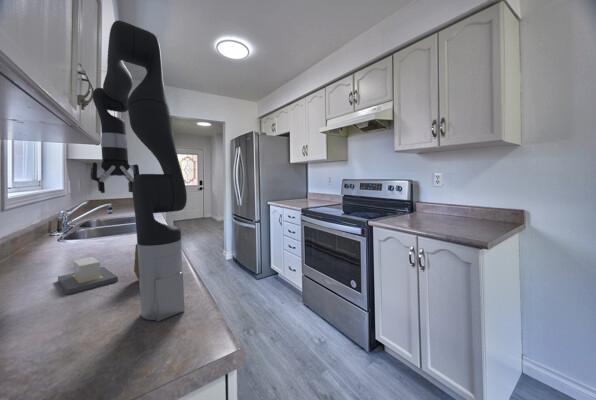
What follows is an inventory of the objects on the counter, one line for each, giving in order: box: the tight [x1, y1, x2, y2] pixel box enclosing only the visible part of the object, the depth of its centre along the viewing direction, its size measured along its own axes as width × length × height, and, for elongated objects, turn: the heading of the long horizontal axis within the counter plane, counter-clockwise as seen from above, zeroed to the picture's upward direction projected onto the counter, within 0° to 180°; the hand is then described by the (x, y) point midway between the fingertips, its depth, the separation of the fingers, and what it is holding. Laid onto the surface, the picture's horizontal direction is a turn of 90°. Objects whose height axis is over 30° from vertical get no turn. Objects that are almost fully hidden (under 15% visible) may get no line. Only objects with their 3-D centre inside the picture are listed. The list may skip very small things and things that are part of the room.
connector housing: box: [73, 256, 101, 282], centre depth 80 cm, size 9×5×5 cm, turn 51°
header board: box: [57, 266, 119, 296], centre depth 80 cm, size 16×12×4 cm
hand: (117, 192), depth 90 cm, fingers open, 8 cm apart
